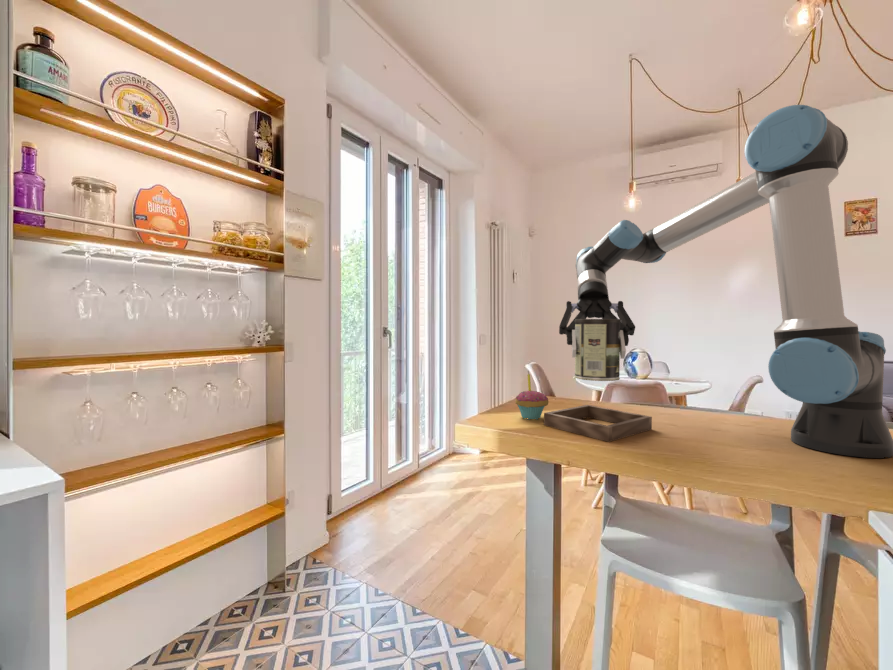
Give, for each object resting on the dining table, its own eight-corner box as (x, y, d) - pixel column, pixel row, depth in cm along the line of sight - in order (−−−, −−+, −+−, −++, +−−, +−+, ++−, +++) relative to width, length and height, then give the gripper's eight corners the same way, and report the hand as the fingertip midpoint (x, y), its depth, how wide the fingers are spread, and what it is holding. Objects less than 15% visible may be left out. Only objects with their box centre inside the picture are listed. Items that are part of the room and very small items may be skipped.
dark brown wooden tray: (651, 429, 97) (651, 416, 97) (608, 441, 87) (608, 427, 87) (587, 415, 111) (587, 404, 111) (543, 425, 101) (544, 412, 101)
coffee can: (610, 375, 104) (611, 319, 104) (627, 381, 94) (628, 319, 93) (568, 375, 104) (569, 319, 104) (581, 381, 94) (582, 318, 94)
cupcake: (509, 415, 112) (509, 370, 112) (537, 413, 115) (538, 369, 114) (524, 422, 104) (525, 374, 104) (554, 420, 106) (555, 373, 106)
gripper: (636, 300, 111) (648, 365, 96) (548, 301, 116) (547, 363, 101) (640, 278, 105) (654, 344, 91) (548, 280, 111) (548, 342, 96)
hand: (598, 354), depth 96 cm, fingers closed on coffee can, 10 cm apart
